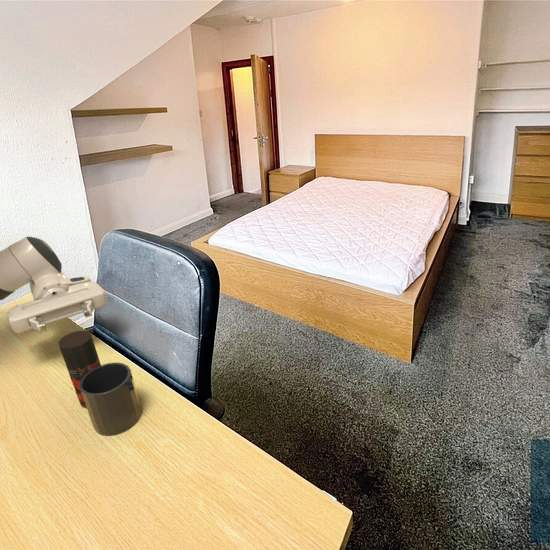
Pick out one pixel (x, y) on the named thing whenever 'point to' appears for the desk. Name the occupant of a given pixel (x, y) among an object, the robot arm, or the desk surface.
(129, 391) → the pen pot
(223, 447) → the desk surface
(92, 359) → the deodorant
